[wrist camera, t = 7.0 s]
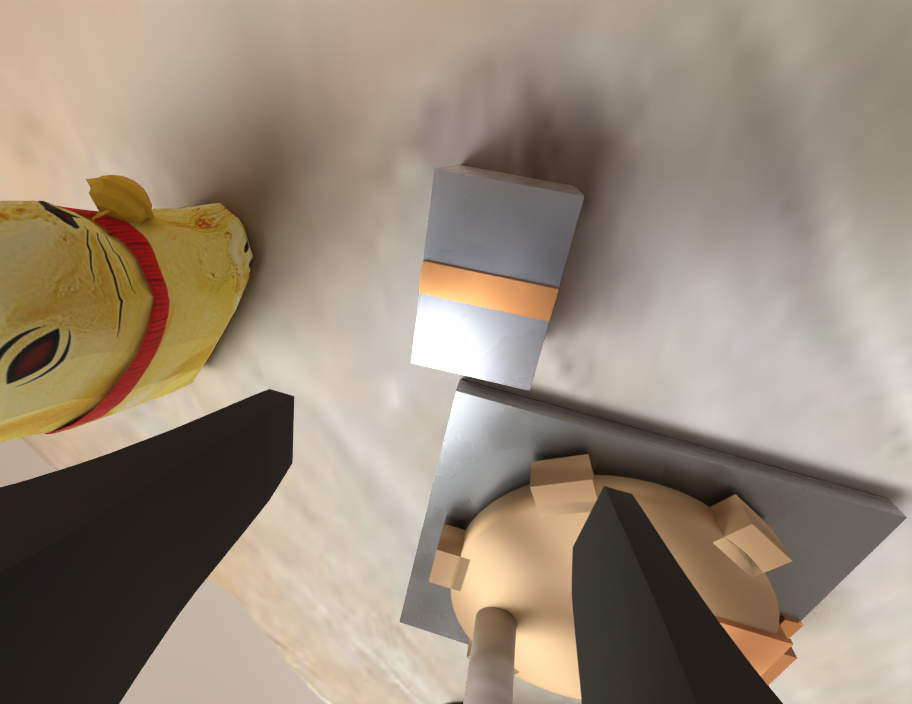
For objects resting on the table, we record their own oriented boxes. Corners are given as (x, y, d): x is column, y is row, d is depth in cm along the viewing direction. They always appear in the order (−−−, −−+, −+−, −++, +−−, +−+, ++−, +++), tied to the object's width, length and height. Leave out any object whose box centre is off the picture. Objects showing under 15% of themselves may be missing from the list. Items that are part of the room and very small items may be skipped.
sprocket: (627, 393, 16) (667, 503, 11) (863, 614, 18) (983, 786, 13) (385, 564, 23) (341, 679, 18) (578, 707, 25) (586, 842, 20)
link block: (461, 164, 15) (433, 168, 11) (574, 185, 14) (585, 196, 11) (438, 319, 17) (410, 364, 14) (532, 341, 17) (529, 392, 13)
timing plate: (887, 498, 17) (911, 521, 16) (693, 699, 25) (699, 724, 24) (460, 379, 18) (455, 393, 17) (404, 605, 26) (398, 625, 25)
